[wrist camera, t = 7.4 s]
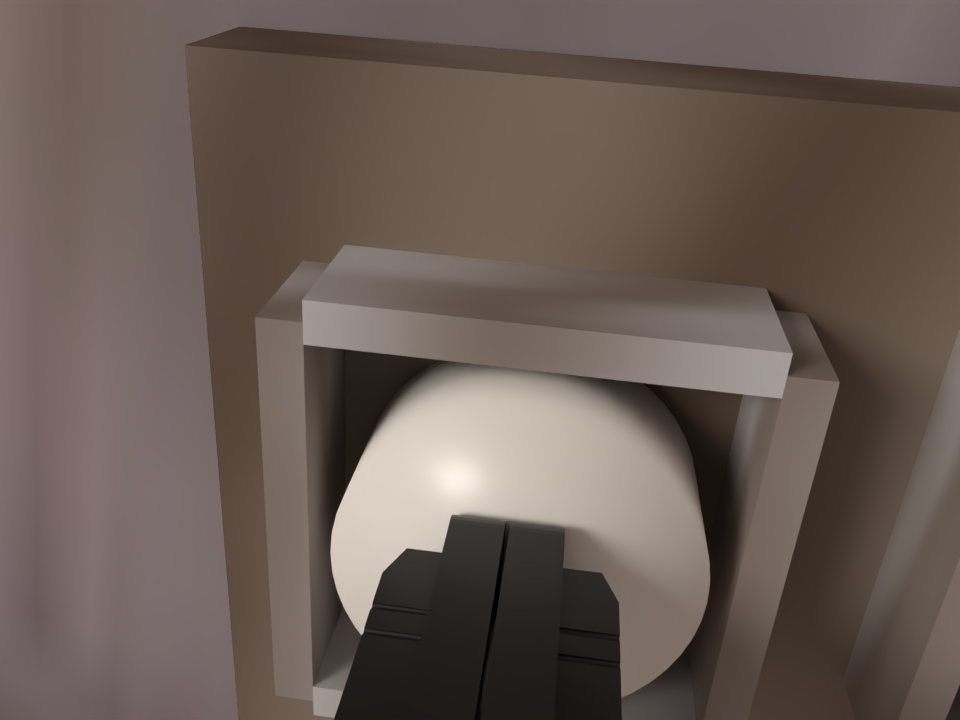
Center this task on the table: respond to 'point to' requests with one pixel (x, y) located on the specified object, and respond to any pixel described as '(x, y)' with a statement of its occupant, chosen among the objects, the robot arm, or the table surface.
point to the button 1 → (537, 492)
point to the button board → (598, 334)
